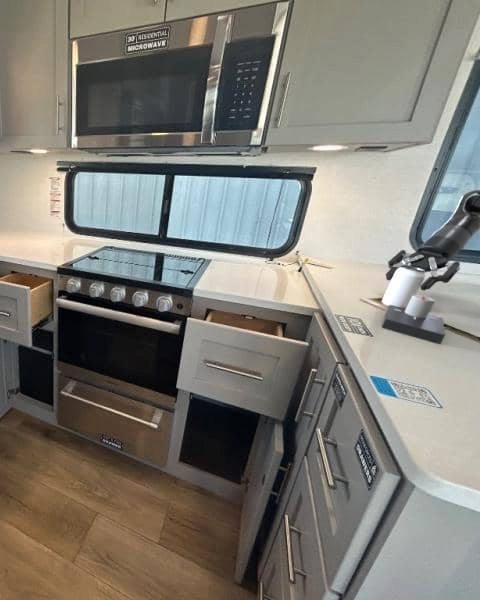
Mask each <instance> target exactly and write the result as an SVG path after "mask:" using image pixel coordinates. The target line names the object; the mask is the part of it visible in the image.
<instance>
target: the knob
mask: <svg viewBox="0 0 480 600" xmlns="http://www.w3.org/2000/svg"><path fill="white" fill-rule="evenodd" d="M435 302H436V300H435V299H434V298H432V297H429V296H425V295H421V294H416V295H413V296H412V298H411V300H410V302H409V304H408V306H407V307H405V308H406V310H405V313H406V314H408V315H411V316H414V317H418V318H426V317H427V315H428V314H429V313H430V312H431V310H432V308H433V306H434V304H435Z"/></svg>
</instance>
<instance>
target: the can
mask: <svg viewBox="0 0 480 600" xmlns="http://www.w3.org/2000/svg"><path fill="white" fill-rule="evenodd" d="M425 277H426V272H425V270H423V269H420V268H416V267H411V266H400V267H399V268H398V269H397V270H396V271H395V273H394V275H393V278H392V279H391V280H390V281H389V284H388V286H387V288H386V291H385V292H384V295H383V297H382V298H381V299H382V303H383V304H384V305H386V306H389V305H393V306H397V307H401V308H405V309H406V308H407V306H408V304H409V302H410V300H411V298H412V296H413V295H418V291H419V290H420V289H421V285H422V284H423V283H424V282H423V281H424V280H425Z"/></svg>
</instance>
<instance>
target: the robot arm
mask: <svg viewBox="0 0 480 600" xmlns="http://www.w3.org/2000/svg"><path fill="white" fill-rule="evenodd" d="M479 231H480V189H474V190H473V189H472V190H470V191H468V192H466V193H465V194H463V196H461V198H460V199H459V202H458V203H457V206H456V208H455V211H454V212H453V214H452V215H451V216H450V218H449V219H448V220H447V221H446V222H445V223H444V224H443V225H442V226H441V227H440V228H438V229H437V230H436V231H435V232H434V233H433V234H431V236H430V237H429V238H428V239H426V240H425V242H423V243H422V244H421V246H420V247H419V248H418V249H417V250H416V251H414V252H413V253H409V252H407V251H406V250H405V249H402V250H400V251H399V252H397V254H395V256H393V257H392V258H391V259H390V260H388V261H387V266H388V269H389V270H388V271H387V272H386V273H385V278H386V281H389V282H391V280H392V278H393V275H394V273H395V271H396V270H397V269H398V268H399V267H400V266H411V267H416V268H420V269H423V270H425V273H430V276H429V277H428V278H427V279H426V280H425V281H424V282H422V284H421V286H420V291H424V292H425V291H426V290H430V289H431V288H432V287H433V286H434V285H435V284H436V283H438V282H441V283H444V284H447V283H449V282H450V281H451V280H452V279H453V277H455V275H456V274H457V273H458V272H459V271H460V270H461V263H460V261H454V262H450V261H451V260H452V259H453V258H454V257H455V256H456V255H458V253H460V251H461V250H463V249H464V247H465V246H466V245H467V244H468V242H469V241H470V239H471V240H472V238H473V237H474V236H475V235H476V234H477V233H478V232H479ZM444 268H446V271H445V272H444V273H443V274H439V271H438V270H440V269H444Z"/></svg>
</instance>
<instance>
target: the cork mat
mask: <svg viewBox="0 0 480 600" xmlns="http://www.w3.org/2000/svg"><path fill="white" fill-rule="evenodd" d="M382 299H383V298H381V297H380V298H379V297H374V298H373V297H372V298H371V297H369V298H368V297H367V298H359V301H360V302H364V303H366V304H368V305H370V306H373V307H375V306H376V308H378V309H380V310H382V309H383V311H385V312H387V309H388V307H389V306H386V305H384V304H383V303H382Z"/></svg>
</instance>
